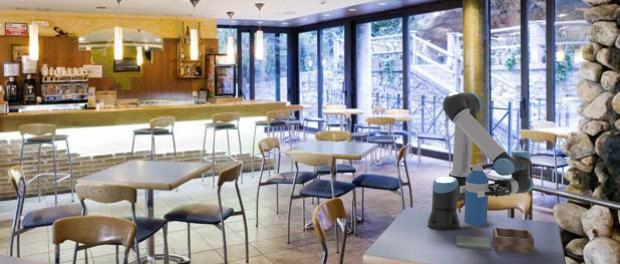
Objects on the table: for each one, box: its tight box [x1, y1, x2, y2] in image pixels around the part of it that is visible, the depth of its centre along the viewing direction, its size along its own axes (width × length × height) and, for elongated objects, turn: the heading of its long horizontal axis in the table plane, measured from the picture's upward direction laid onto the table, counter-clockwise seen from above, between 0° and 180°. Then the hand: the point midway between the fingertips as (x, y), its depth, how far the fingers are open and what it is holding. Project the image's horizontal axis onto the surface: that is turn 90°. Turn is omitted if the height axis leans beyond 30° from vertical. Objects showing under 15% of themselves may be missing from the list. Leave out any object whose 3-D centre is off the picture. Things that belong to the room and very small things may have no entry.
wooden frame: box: [492, 226, 535, 255], centre depth 231 cm, size 15×15×6 cm
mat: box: [456, 235, 492, 251], centre depth 235 cm, size 14×14×1 cm
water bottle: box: [463, 164, 490, 226], centre depth 232 cm, size 9×9×25 cm
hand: (469, 191), depth 230 cm, fingers closed on water bottle, 9 cm apart
